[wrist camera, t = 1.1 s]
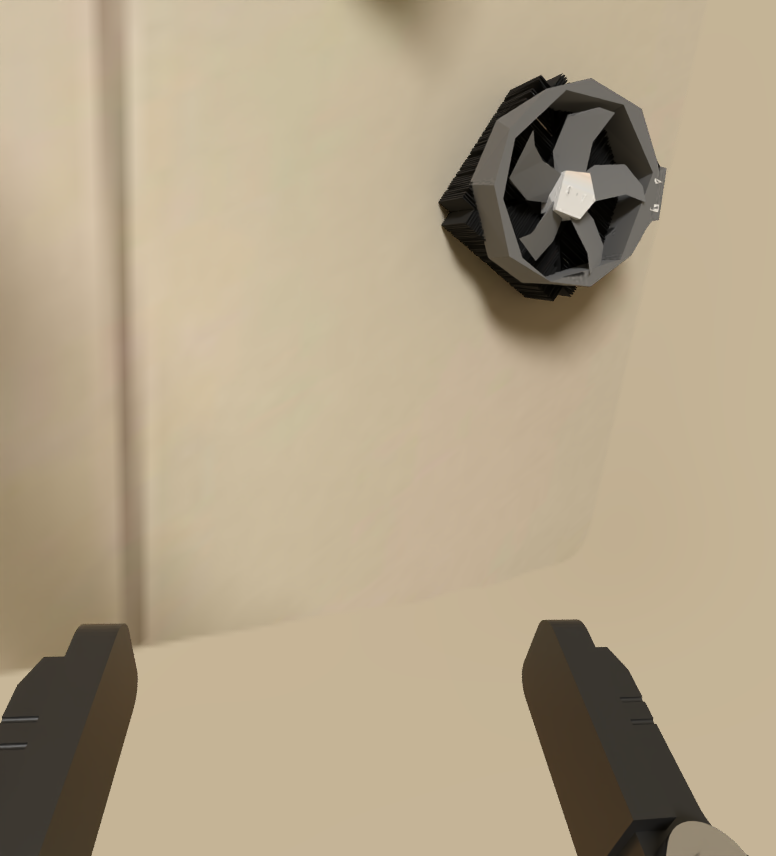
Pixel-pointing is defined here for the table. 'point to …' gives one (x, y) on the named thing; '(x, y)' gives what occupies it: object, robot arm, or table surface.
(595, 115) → the cpu cooler
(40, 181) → the table surface
